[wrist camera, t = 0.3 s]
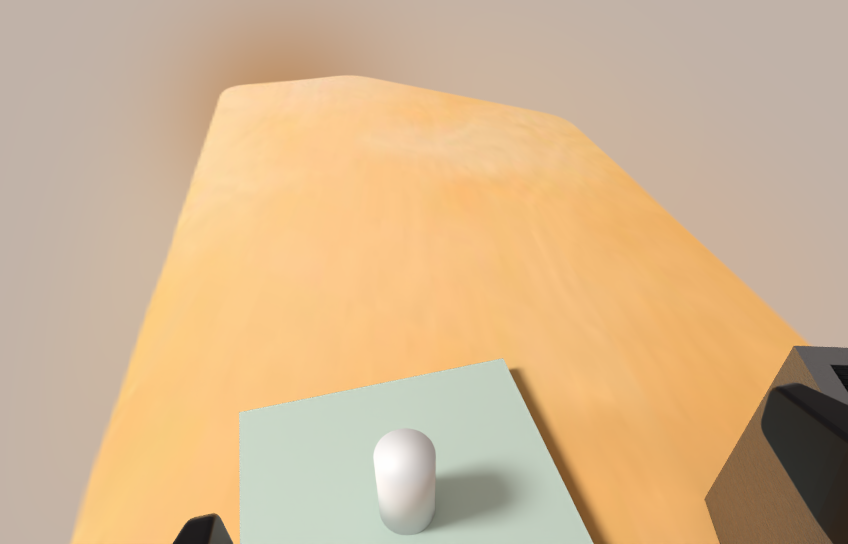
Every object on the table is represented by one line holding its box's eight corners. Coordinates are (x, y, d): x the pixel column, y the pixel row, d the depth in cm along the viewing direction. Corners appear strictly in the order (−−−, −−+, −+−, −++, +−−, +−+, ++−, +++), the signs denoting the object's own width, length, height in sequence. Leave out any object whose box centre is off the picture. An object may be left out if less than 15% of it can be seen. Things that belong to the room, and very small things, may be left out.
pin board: (634, 650, 21) (670, 594, 18) (247, 774, 18) (209, 734, 15) (501, 370, 32) (509, 304, 28) (243, 424, 29) (220, 358, 26)
